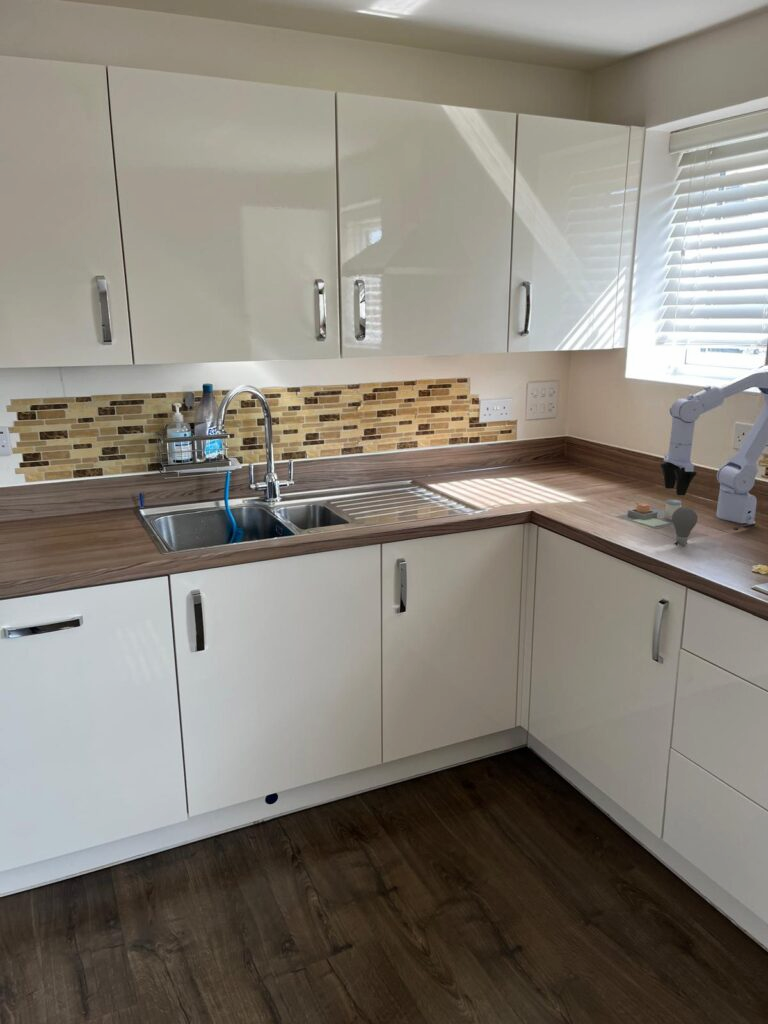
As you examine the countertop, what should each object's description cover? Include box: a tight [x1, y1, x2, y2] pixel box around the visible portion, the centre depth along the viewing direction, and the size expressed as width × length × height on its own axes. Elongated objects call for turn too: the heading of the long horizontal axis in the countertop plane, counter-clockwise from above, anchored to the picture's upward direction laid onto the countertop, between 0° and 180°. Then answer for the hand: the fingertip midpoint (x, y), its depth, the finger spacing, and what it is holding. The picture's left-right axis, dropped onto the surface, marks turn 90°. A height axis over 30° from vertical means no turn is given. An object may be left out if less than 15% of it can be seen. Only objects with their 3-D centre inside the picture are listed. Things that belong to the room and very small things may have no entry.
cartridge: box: [664, 499, 682, 521], centre depth 213 cm, size 4×4×6 cm
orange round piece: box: [635, 502, 651, 514], centre depth 214 cm, size 4×4×3 cm
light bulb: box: [671, 506, 698, 546], centre depth 192 cm, size 6×6×10 cm
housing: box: [615, 508, 674, 530], centre depth 213 cm, size 14×17×3 cm
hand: (675, 491), depth 211 cm, fingers open, 7 cm apart
